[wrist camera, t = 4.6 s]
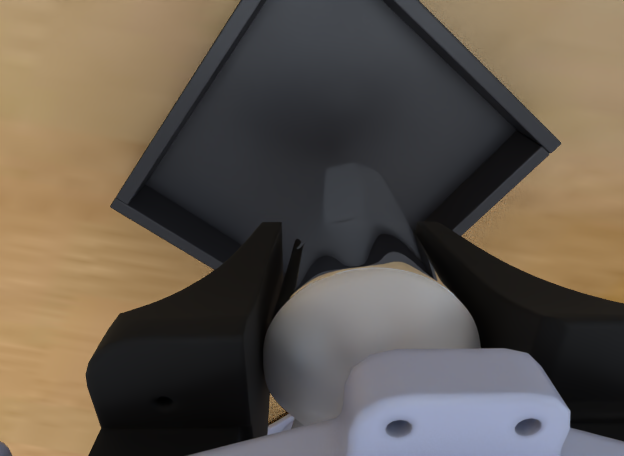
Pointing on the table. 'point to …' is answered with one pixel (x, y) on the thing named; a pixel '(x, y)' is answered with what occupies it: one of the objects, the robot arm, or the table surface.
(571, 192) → the table surface
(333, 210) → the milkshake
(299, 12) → the pan
